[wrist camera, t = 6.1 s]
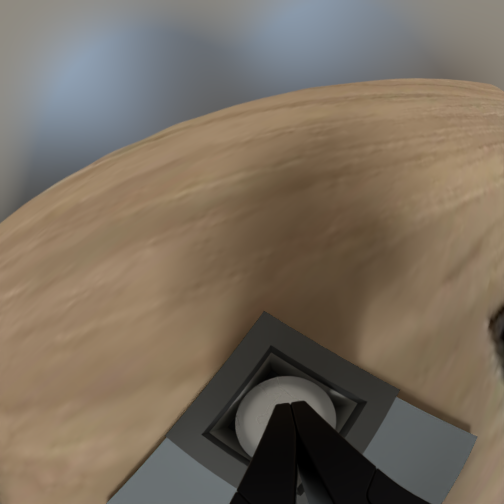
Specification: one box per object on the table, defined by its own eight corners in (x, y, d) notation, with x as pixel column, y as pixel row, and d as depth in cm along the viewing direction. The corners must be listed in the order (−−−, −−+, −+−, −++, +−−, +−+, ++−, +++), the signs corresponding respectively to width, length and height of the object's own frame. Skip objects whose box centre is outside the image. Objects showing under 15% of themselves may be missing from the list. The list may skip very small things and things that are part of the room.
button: (327, 408, 15) (354, 405, 10) (289, 461, 13) (298, 484, 8) (273, 376, 16) (273, 358, 11) (234, 426, 15) (215, 433, 9)
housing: (355, 400, 16) (399, 389, 10) (294, 486, 13) (306, 524, 7) (267, 347, 18) (264, 311, 12) (203, 429, 15) (164, 435, 9)
